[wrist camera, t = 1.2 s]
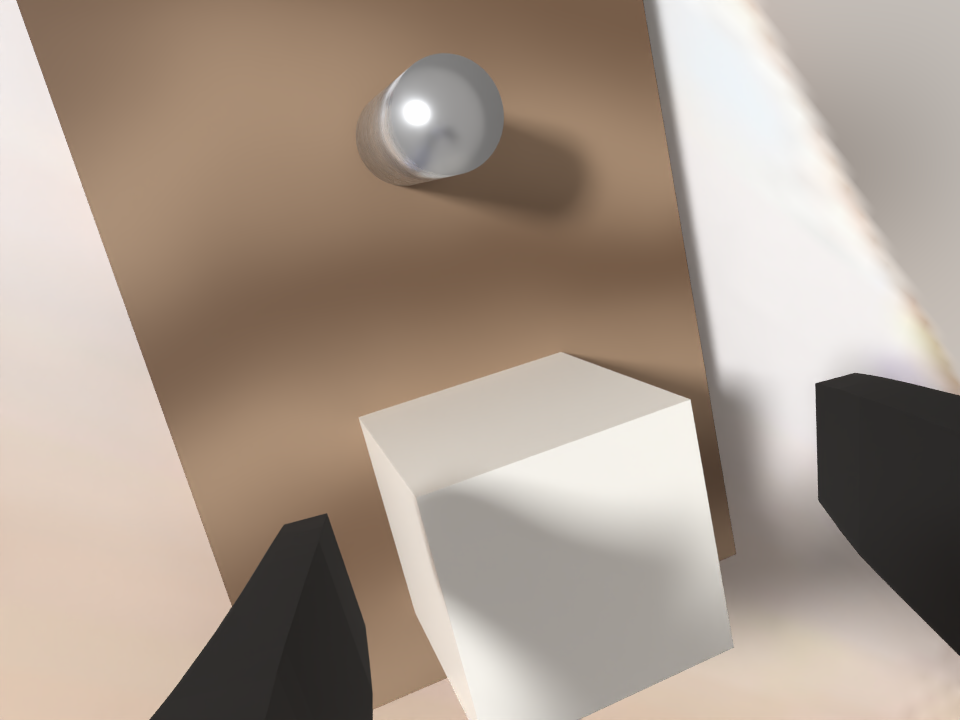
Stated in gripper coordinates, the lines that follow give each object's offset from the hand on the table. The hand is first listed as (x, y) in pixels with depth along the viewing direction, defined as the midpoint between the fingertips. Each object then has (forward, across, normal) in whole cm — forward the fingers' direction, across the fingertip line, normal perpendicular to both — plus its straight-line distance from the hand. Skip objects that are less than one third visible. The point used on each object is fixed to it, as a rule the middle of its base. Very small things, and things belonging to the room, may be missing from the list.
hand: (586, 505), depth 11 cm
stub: (+10, +1, -4) cm, 11 cm away
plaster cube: (+8, +1, +4) cm, 9 cm away
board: (+11, +1, 0) cm, 11 cm away
